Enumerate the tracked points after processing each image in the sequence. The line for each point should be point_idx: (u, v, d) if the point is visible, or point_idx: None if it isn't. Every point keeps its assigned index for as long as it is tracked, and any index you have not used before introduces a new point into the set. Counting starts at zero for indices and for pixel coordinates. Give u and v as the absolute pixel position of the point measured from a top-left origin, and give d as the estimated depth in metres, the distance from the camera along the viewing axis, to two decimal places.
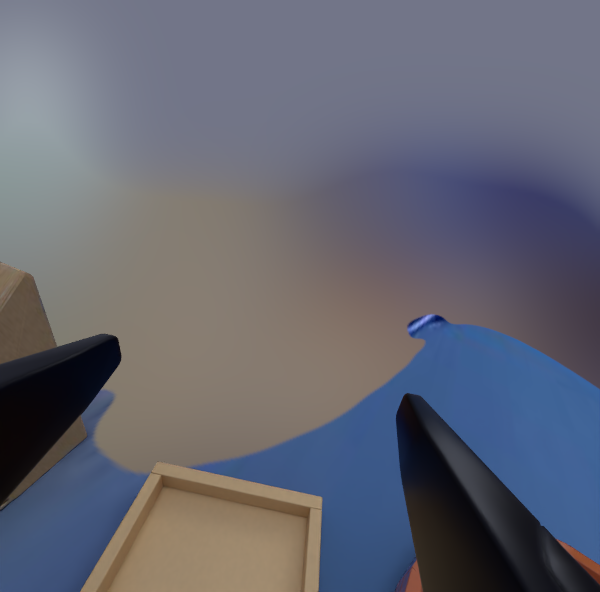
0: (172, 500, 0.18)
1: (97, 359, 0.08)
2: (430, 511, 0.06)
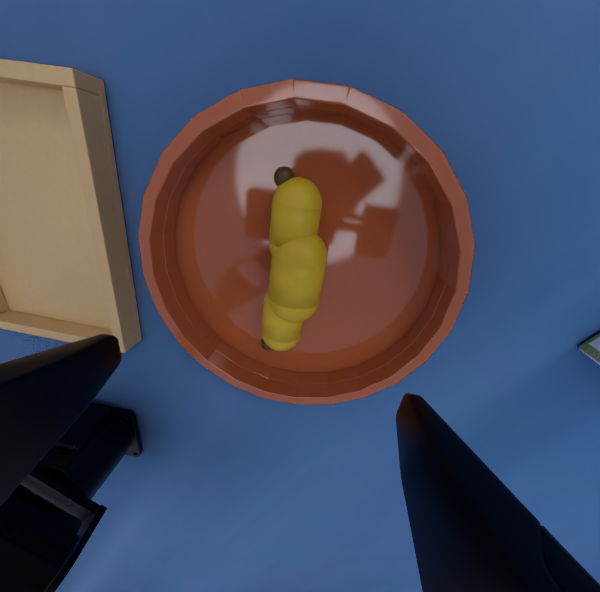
0: None
1: (97, 359, 0.08)
2: (430, 511, 0.06)
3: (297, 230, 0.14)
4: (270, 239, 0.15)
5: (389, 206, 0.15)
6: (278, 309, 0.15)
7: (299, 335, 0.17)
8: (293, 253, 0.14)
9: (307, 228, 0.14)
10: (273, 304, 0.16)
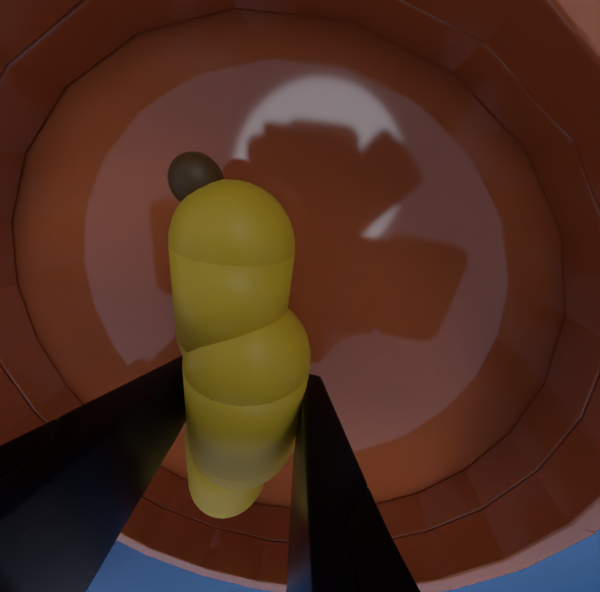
0: None
1: None
2: (296, 481, 0.06)
3: (227, 319, 0.05)
4: (176, 326, 0.06)
5: (452, 246, 0.07)
6: (202, 472, 0.07)
7: (260, 486, 0.09)
8: (219, 376, 0.05)
9: (255, 311, 0.05)
10: (193, 458, 0.07)
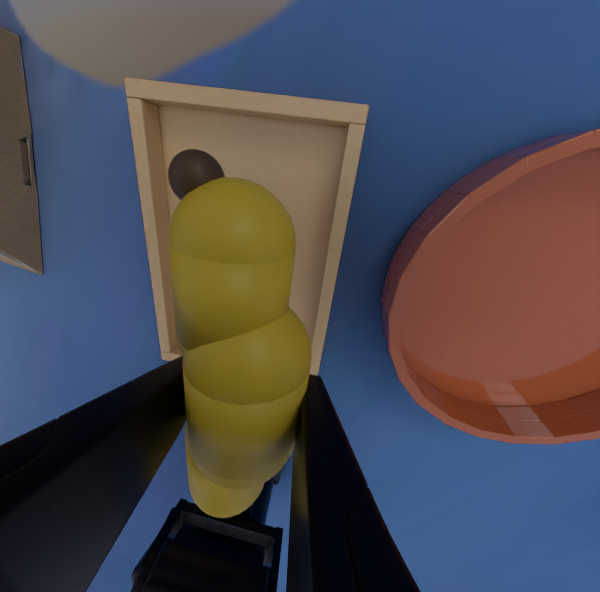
0: (177, 121, 0.15)
1: None
2: (296, 481, 0.06)
3: (228, 317, 0.05)
4: (176, 325, 0.06)
5: None
6: (203, 471, 0.07)
7: (261, 486, 0.09)
8: (219, 375, 0.05)
9: (256, 310, 0.05)
10: (193, 457, 0.07)
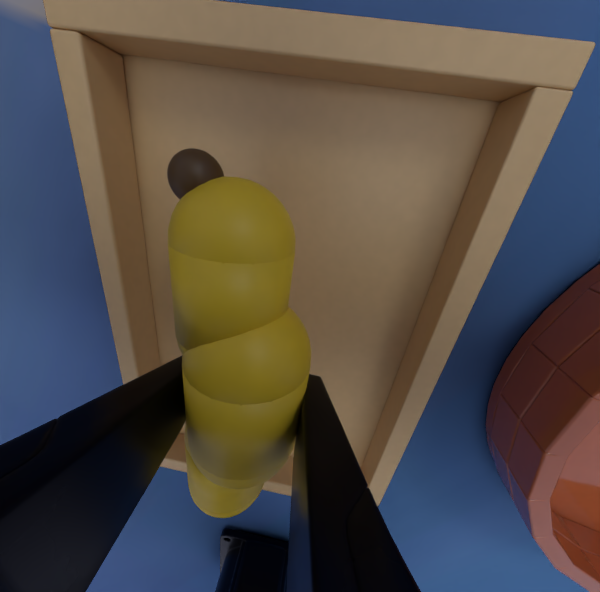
0: (160, 89, 0.08)
1: None
2: (296, 481, 0.06)
3: (227, 317, 0.05)
4: (175, 325, 0.06)
5: None
6: (202, 471, 0.07)
7: (260, 486, 0.09)
8: (218, 374, 0.05)
9: (255, 309, 0.05)
10: (193, 457, 0.07)
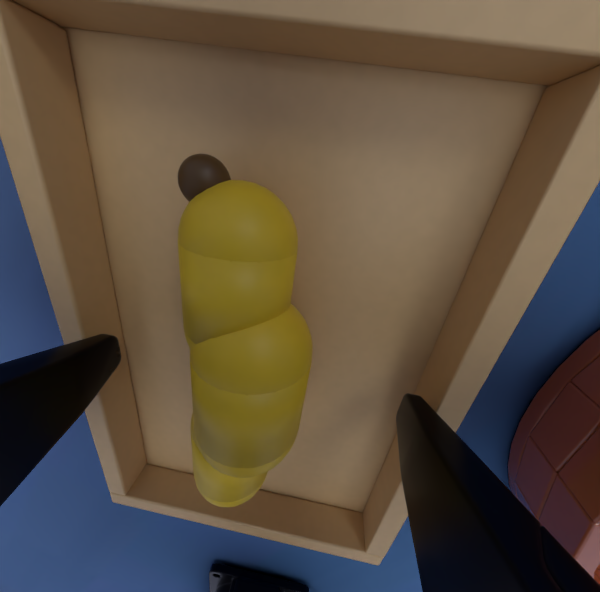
0: (114, 71, 0.06)
1: (97, 359, 0.08)
2: (430, 511, 0.06)
3: (234, 312, 0.06)
4: (184, 321, 0.07)
5: None
6: (209, 461, 0.07)
7: (263, 477, 0.09)
8: (226, 366, 0.06)
9: (260, 305, 0.06)
10: (199, 447, 0.07)
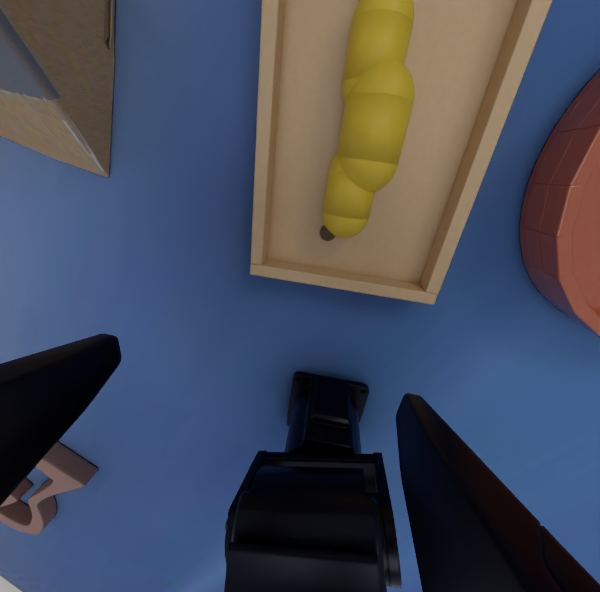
0: None
1: (97, 359, 0.08)
2: (430, 511, 0.06)
3: (387, 47, 0.11)
4: (347, 74, 0.12)
5: None
6: (353, 166, 0.13)
7: (368, 215, 0.15)
8: (381, 77, 0.11)
9: (398, 47, 0.11)
10: (346, 162, 0.13)
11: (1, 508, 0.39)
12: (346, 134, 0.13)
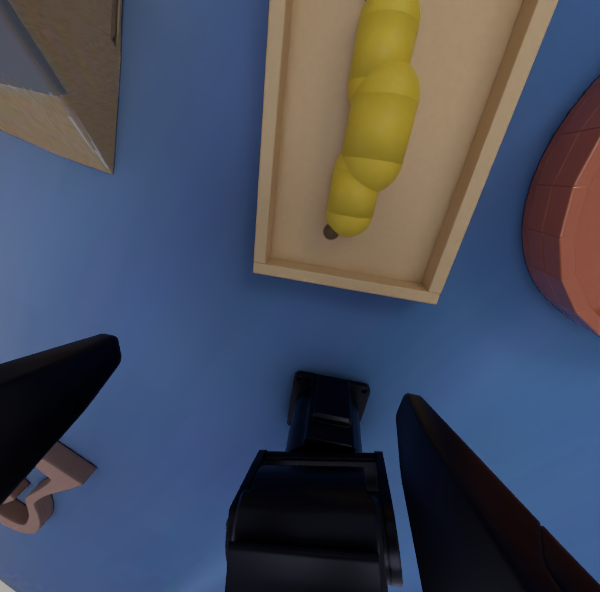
0: None
1: (97, 359, 0.08)
2: (430, 511, 0.06)
3: (393, 47, 0.11)
4: (353, 74, 0.12)
5: None
6: (358, 165, 0.13)
7: (372, 214, 0.15)
8: (388, 77, 0.11)
9: (404, 47, 0.11)
10: (351, 160, 0.13)
11: None
12: (351, 133, 0.13)
